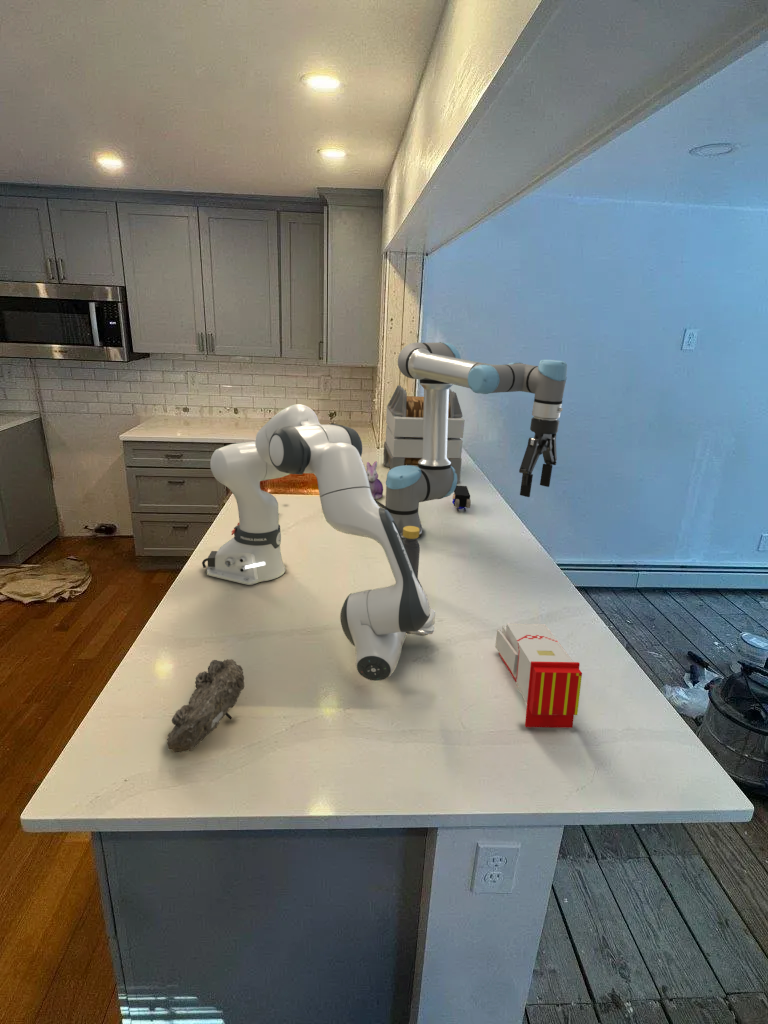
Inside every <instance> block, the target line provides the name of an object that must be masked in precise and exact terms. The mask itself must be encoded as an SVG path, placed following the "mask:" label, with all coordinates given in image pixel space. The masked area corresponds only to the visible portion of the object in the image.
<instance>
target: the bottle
mask: <svg viewBox="0 0 768 1024" xmlns="http://www.w3.org/2000/svg"><path fill="white" fill-rule="evenodd" d="M403 542H404V545H405V547H406V550H407V552H408V555H409V557H410V560H411V563H412V565H413V568H414V570H415V573H416V575H417V578H418V579H419V568H420V567H419V566H420V565H419V564H420V551H421V545H420V542H419V540H418V538H415V539H409V538H404V540H403Z"/></svg>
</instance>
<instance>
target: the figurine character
mask: <svg viewBox="0 0 768 1024" xmlns="http://www.w3.org/2000/svg"><path fill="white" fill-rule="evenodd" d="M471 501H472V500H471V494H470V491H469V488H468V486H467V485H458V484H457V485H456V488H455V490H454V492H453V493H452V501H451V503H452V504H453V507H454V508H456V511H457V512H460V510H463V511H464V513H466V512H467V509H470V508H471V505H472V504H471ZM466 508H467V509H466Z"/></svg>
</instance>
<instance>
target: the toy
mask: <svg viewBox="0 0 768 1024" xmlns="http://www.w3.org/2000/svg"><path fill="white" fill-rule="evenodd" d="M551 631H552V630H551V629H550V628H548V627H547V625H546V624H545V623H506V625H502V628H501V629H500V628H499V629H497V630H496V636H495V637H496V638H495V644H494V647H495V649H496V651H497V652H498V655H499V657H500V659H501V661H502V662H503V664H504V666H505V667H506V669H507V670H508V672H509V674H510V676H511V677H512V679H513V680H514V682H515V683H516V686H517V688H518V690H519V693H520V694H521V695H522V698H523V700H524V702H525V704H526V708H525V709H526V710H525V721H524V727H525V728H552V729H553V728H555V729H556V728H557V729H562V728H563V729H573V726H574V719H575V716H578V712H579V703H580V695H581V687H582V677H583V672H582V670H580V667H581V665H580V662H578V661H573V659H572V657H570V656H569V655H570V654H568V653H567V651H566V650H565V649H564V647H563V646H562V645H561V644H560V641H558V639H557V638H556V637H555V636H554V634H553V633H552V632H551Z"/></svg>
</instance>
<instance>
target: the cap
mask: <svg viewBox="0 0 768 1024" xmlns="http://www.w3.org/2000/svg"><path fill="white" fill-rule="evenodd" d="M419 532H420V530H419V528H418V527H415V526H406V527H404V528H403V536H404V537H405V538H409V539H415V538H417V539H418V538H420V537H419Z"/></svg>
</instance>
